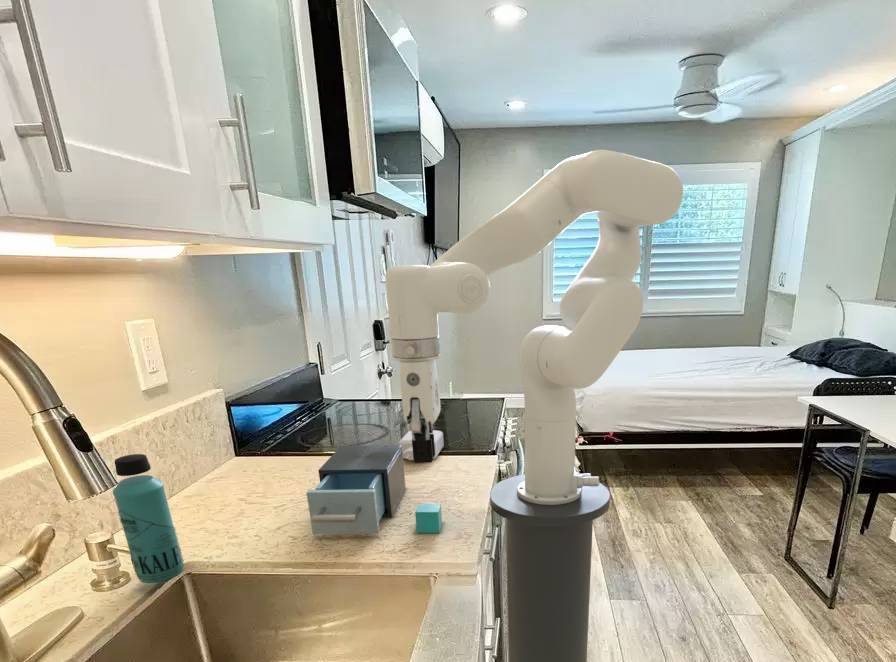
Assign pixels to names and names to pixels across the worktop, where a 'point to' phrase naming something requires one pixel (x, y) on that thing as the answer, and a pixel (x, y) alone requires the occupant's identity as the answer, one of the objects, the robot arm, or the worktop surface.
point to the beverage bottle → (147, 521)
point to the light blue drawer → (347, 504)
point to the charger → (408, 449)
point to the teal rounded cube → (428, 518)
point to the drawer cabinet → (371, 468)
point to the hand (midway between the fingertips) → (424, 458)
